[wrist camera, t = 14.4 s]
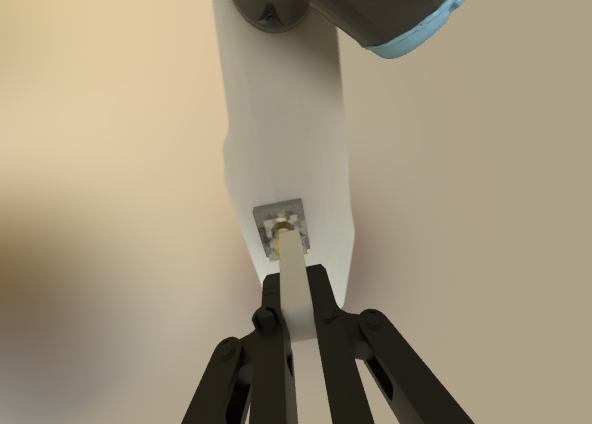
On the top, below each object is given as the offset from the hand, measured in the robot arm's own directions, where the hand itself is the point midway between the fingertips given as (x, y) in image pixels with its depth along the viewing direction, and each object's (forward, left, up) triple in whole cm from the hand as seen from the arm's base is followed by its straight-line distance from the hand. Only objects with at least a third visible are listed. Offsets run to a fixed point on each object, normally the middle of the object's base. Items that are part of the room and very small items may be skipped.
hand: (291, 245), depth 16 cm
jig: (+12, +15, -34) cm, 39 cm away
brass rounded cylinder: (+12, +15, -34) cm, 39 cm away
